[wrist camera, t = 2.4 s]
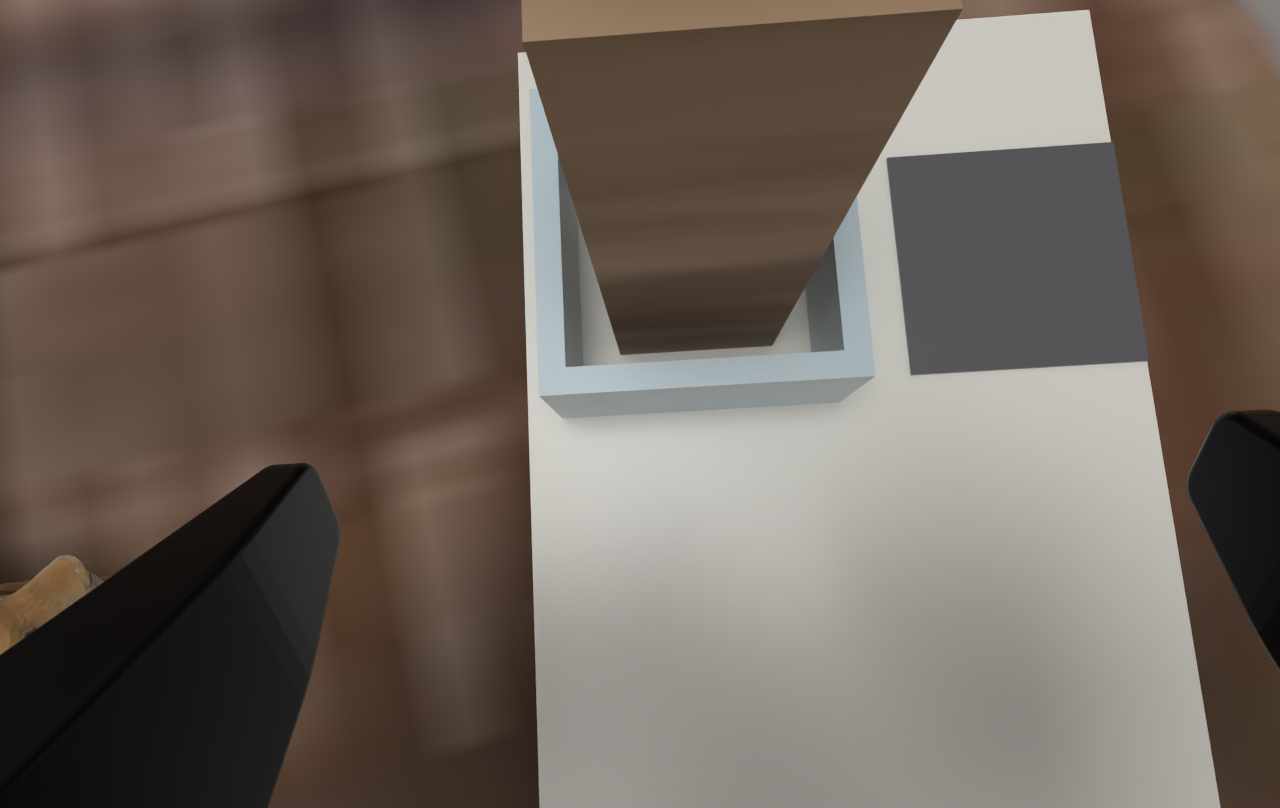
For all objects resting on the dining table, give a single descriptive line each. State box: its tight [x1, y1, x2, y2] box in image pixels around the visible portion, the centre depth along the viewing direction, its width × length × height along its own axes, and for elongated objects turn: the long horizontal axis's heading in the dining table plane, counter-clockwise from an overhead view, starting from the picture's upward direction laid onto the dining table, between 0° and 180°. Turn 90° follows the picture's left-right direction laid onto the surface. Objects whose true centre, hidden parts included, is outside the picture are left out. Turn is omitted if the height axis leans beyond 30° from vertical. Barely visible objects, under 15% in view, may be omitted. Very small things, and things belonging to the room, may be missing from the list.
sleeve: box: [529, 89, 876, 418], centre depth 18 cm, size 7×7×4 cm
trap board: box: [518, 10, 1220, 808], centre depth 19 cm, size 24×16×1 cm, turn 3°
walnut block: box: [522, 0, 963, 355], centre depth 13 cm, size 4×4×13 cm
